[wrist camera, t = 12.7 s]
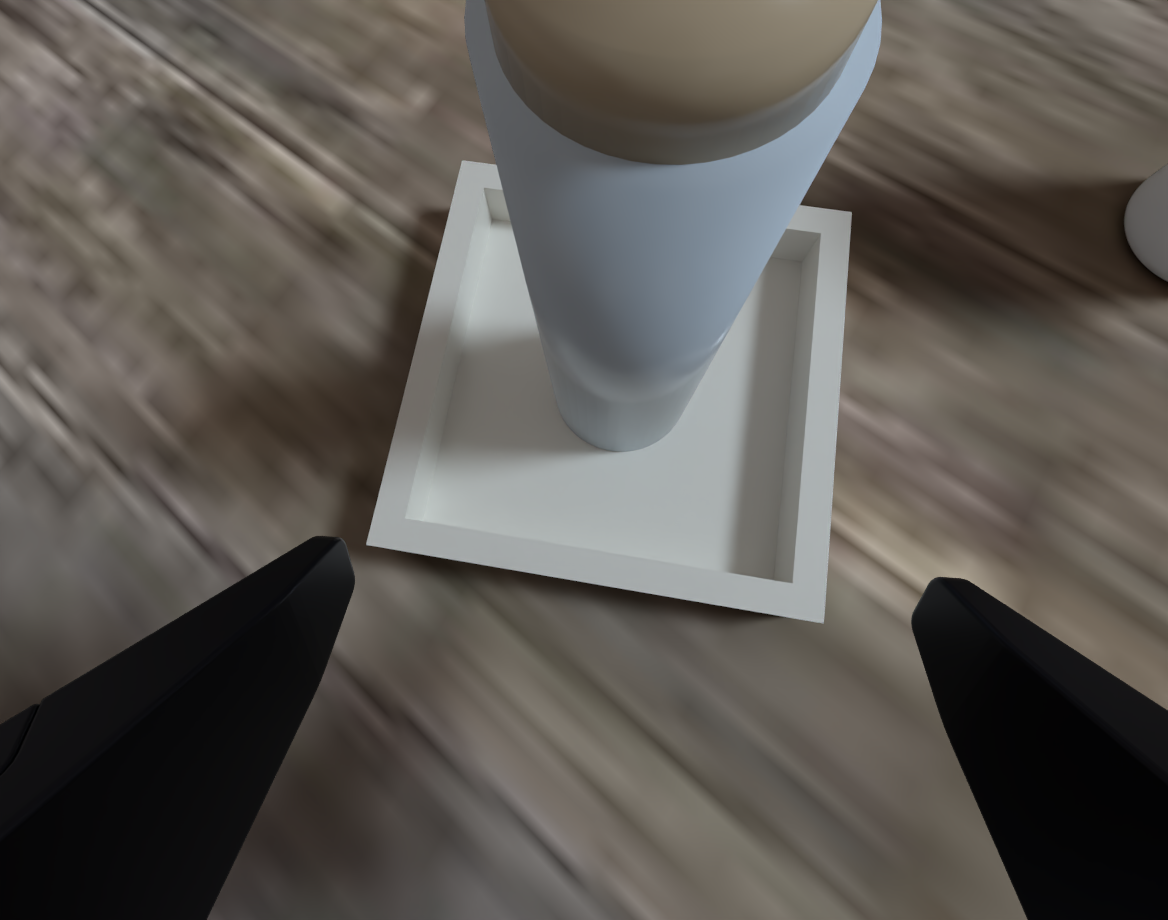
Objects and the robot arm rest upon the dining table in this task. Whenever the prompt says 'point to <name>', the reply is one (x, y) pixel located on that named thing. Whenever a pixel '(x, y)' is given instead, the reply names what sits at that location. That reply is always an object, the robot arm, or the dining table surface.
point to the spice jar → (656, 175)
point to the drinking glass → (1150, 223)
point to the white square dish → (633, 478)
